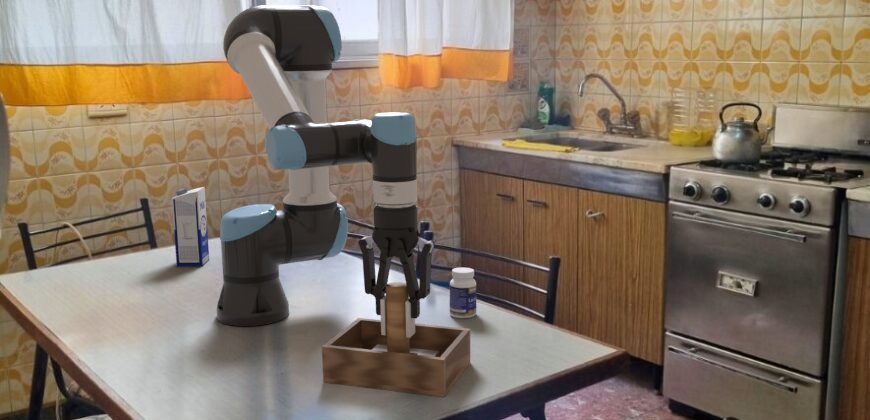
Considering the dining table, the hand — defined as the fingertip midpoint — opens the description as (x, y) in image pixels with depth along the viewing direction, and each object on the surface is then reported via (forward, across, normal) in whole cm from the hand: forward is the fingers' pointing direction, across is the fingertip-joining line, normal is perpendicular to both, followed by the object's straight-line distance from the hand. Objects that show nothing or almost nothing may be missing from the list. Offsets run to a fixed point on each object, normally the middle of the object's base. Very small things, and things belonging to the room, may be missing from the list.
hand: (398, 333), depth 156 cm
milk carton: (+7, -78, +55) cm, 96 cm away
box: (+7, 0, 0) cm, 7 cm away
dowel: (+5, 0, 0) cm, 5 cm away
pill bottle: (+7, +2, +34) cm, 35 cm away
